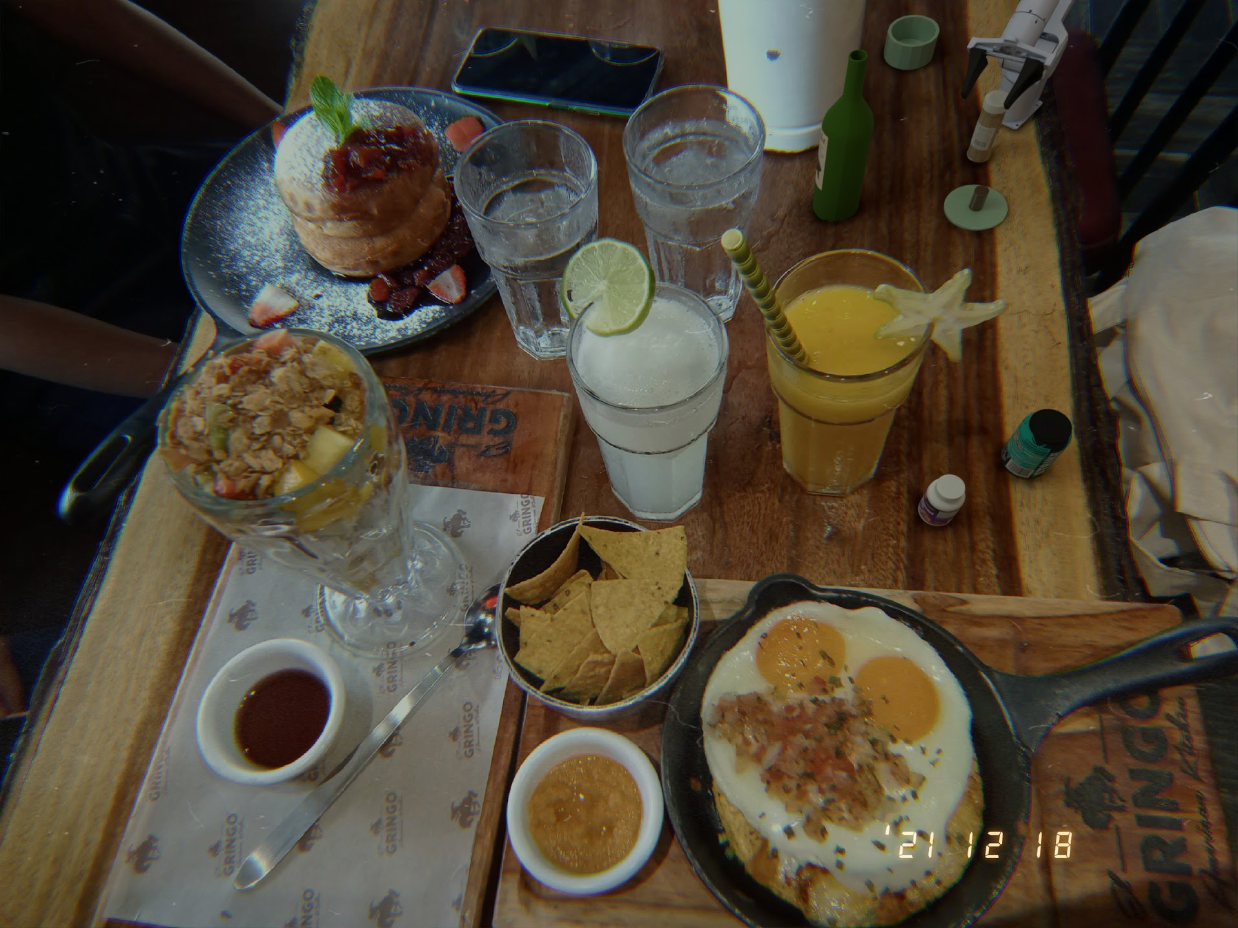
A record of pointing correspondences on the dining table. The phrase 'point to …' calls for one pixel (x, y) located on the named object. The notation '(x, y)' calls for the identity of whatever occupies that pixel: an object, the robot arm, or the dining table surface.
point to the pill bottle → (942, 500)
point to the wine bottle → (844, 147)
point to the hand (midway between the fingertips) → (984, 101)
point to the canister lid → (975, 207)
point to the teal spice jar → (1036, 443)
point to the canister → (911, 42)
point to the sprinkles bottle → (987, 126)
